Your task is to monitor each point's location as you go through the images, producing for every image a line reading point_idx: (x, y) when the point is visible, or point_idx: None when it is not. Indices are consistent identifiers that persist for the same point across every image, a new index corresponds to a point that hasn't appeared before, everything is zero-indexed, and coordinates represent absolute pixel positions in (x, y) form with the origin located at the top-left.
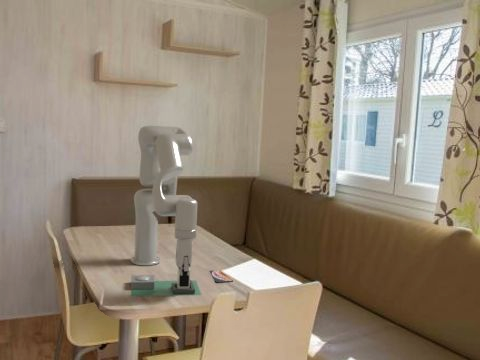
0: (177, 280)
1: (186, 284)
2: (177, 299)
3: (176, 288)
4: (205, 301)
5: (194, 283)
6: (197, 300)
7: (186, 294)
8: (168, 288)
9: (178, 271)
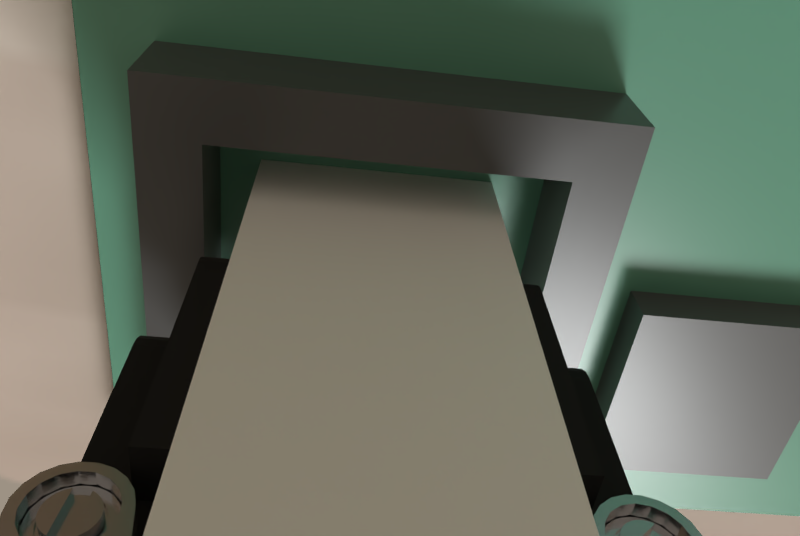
0: (457, 283)
1: None
2: (70, 90)
3: (508, 178)
4: (6, 454)
5: (672, 479)
6: (40, 375)
7: (137, 284)
8: (552, 12)
9: (261, 508)
